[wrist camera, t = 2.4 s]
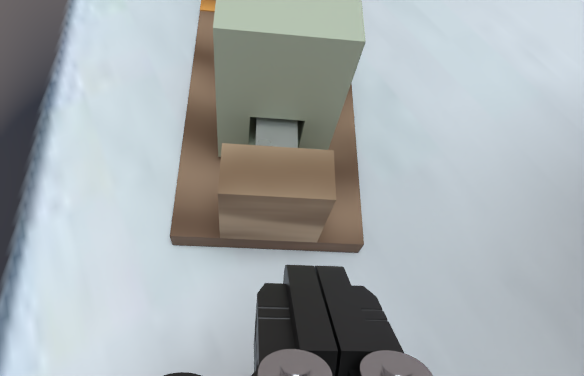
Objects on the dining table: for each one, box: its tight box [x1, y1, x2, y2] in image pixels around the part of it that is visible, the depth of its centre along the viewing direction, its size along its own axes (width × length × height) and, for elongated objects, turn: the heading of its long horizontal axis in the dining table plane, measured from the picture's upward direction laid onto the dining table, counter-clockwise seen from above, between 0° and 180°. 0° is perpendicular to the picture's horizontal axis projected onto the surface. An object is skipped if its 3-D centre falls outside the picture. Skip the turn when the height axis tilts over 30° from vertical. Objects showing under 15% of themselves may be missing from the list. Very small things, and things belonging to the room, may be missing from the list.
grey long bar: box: [255, 117, 298, 148], centre depth 32 cm, size 23×2×2 cm, turn 0°
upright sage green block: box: [213, 0, 366, 157], centre depth 27 cm, size 5×7×11 cm
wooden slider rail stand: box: [170, 0, 364, 253], centre depth 33 cm, size 28×12×8 cm, turn 0°
